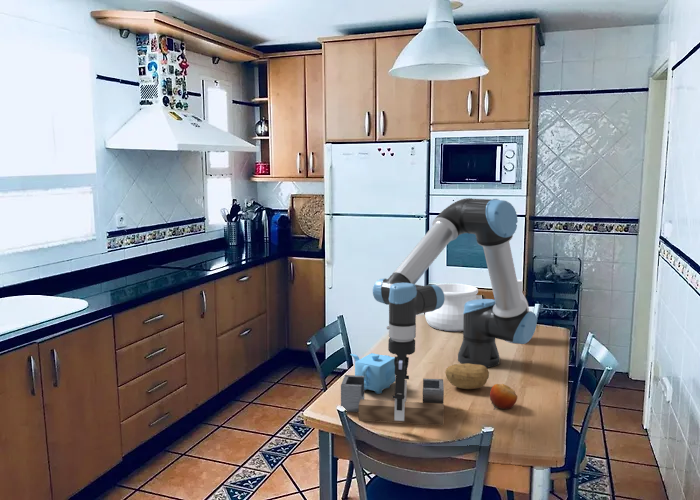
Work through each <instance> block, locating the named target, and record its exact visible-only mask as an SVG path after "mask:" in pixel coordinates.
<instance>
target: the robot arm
mask: <svg viewBox="0 0 700 500" xmlns="http://www.w3.org/2000/svg"><path fill="white" fill-rule="evenodd" d="M517 223H518V213H517V211H516V209H515V207H514V205H513V204H512V203H510V202H509V201H507V200H504V199H497V198H493V199H488V198H487V199H486V198H470V197H469V198H463V199H458V200H457V201H455V202H453V203H451V204H450V205H448V206H447V207H445V209H443V210H441V212H440V213H438V215H436V217H434V219H433V221H432V223H431V224H432V227H431V228H430V229H429V230H428V231H427V232H426V233H425V234H424V236H423V237H422V238H421V239H420V241H419V242H418V243H417V244H416V245H415V246H414V247H413V249H412V250H411V251H410V252H409V253H408V254H407V256H406V257H405V258H404V259H403V260H402V261H401V263H399V266H398V267H396V269H395V270H394V271H393V272H392V274H391V275H390V276H388V278H379V279H377V280H376V281H375V282H374V284H373V286H372V287H373V288H372V296H373V298H374V300H375V301H376V302H379V303H381V304H384V305H388V325H386V330H388V337H389V339H388V349H387V350H388V352H389V353H390V354H393V355H396V356H394V357H395V359H394V365H395V382H394V384H395V385H394V395H392V397H391V398H392V399H394V401H395V412H394V420H396V421H404V412H405V402H407V389H408V388H407V385H408V384H407V381H408V380H410V375H408V368H409V364H410V363H409V361H410V359H409V356H408V355H413V354H414V353H415V352H416V339H415V338H416V334H417V333H416V331H417V329H416V328H417V324H416V322H417V321H416V319H417V316H416V315H420V314H425V313H426V312H430V311H431V312H432V311H434V310H436V309H439V308H441V307H442V305H443V303H444V299H445V298H444V293H443V291H442V289H441V288H440V287H439V286H437V285H435V284H427V285H420V284H416V283H417V282H418V281H419V280H420V278H421V277H422V276H423V275H424V274H425V273H426V271H427V270H428V269H429V268H430V266H431V265H432V264H433V263H434V261H435V260H436V259H437V257H439V255H441V252H443V251H444V250H445V248H446V246H448V245H449V243H451V242H452V241H455V240H456V239H457V238H458V237H459V236H460V235H463V234H468V235H469V234H471V235H475V239H476V243H477V245H479V246H481V247H482V248H483V252H484V258H485V261H486V266H487V267H486V268H487V270H488V271H487V272H488V275H489V280H490V283H491V289H492V294H493V297H494V298H493V299H492V298H482V299H478V300H471V301H468V302H466V303H465V305H464V313H463V314H464V324H463V331H462V332H463V333H462V334H463V338H462V342H461V344H460V347H459V351H458V354H457V360H458V363H459V364H466V363H469V364H477V365H483V366H485V367H486V368H493V367H496V366H498V365H499V364H500V353H499V350H498V347H497V343H496V339H497V340H502V341H505V342H506V341H509V342H508V343H510V342H513V343H512V344H520V345H524V344H527V343H529V341H531V339H532V338H533V336H534V334H535V331H536V328H537V323H538V321H537V320H538V319H537V315H536V313H535V312H533V311H531V310H529V311H528V309H527V305H526V303H525V301H523V300H521V298H520V293H519V288H518V283H517V274H516V269H515V263H514V258H513V255H512V254H513V253H512V249H511V243H510V241H511V240H512V239H513V237H514V234H515V233H516V230H517V228H518V225H517Z"/></svg>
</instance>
